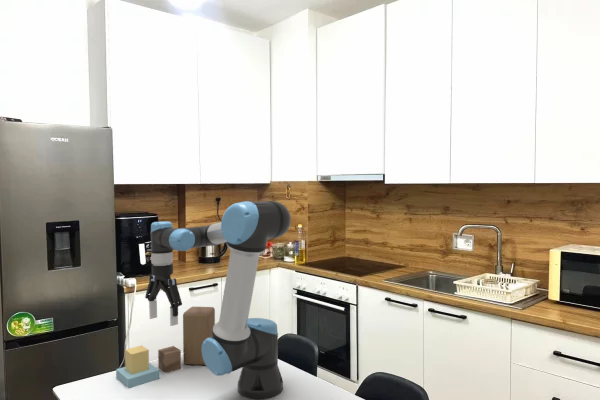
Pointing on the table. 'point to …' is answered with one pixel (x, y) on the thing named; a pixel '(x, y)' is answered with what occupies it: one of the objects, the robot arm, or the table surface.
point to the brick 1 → (136, 359)
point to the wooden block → (196, 333)
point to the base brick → (137, 376)
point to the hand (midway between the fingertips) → (163, 321)
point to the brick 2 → (169, 359)
